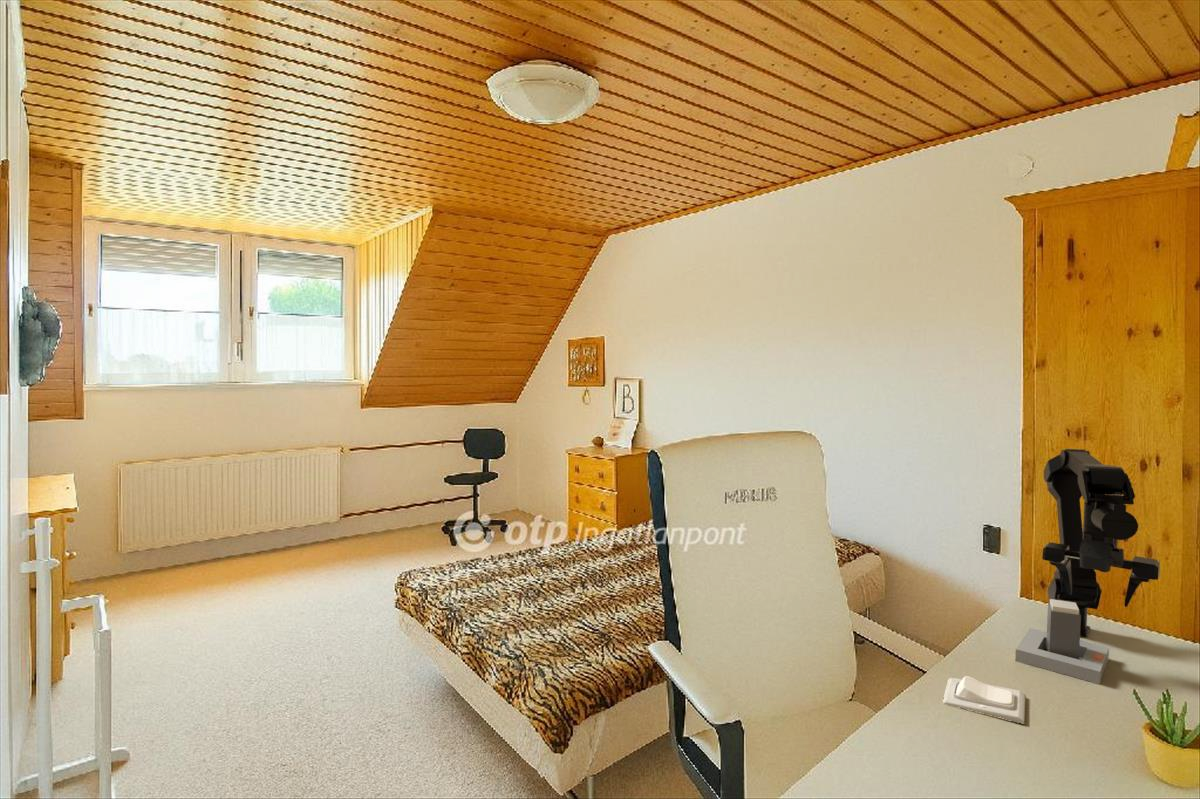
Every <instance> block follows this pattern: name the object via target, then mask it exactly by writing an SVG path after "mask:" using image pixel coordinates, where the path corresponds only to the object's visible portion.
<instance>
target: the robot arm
mask: <svg viewBox="0 0 1200 799" xmlns="http://www.w3.org/2000/svg"><path fill="white" fill-rule="evenodd" d="M1043 480H1044V482H1046V486H1047V487H1046V488H1047V489H1046V490H1047V491H1048V492H1049V493H1050V495H1051V496H1052V497H1053V499H1055V501H1056V511H1057V512H1056V513H1057V524H1058V535H1059V536H1058V537H1059V543H1057V542H1052V541H1051V542H1048V543H1047V544H1045V545H1044V547H1043V548H1042V556H1041V560H1043V561H1048V562H1049V565H1051V566H1054V567H1055V568H1056V569H1055V571H1054V573H1053V578H1052V579H1051V582H1050V583H1049V585H1048V588H1047V597H1048V600H1050V599H1054V600H1061V601H1068V602H1075V603H1076V605H1077V607H1078V609H1079V613H1080V615H1081V627H1080V637H1082V638H1083V637H1084V638H1087V637H1088V634H1089V632H1090V630H1091V626H1089V625H1087V624H1088V609H1094V610H1098V607H1099V605H1100V600H1101V596H1102V591H1103V590H1102V589H1101V586H1100V584H1099V582H1097V581H1098V580H1097V572H1096V571H1099V572H1101V573H1109V572H1110V571H1111V568H1112V567H1113V568H1119V569H1125V570H1130V571H1131V573H1130V575H1129V579H1128V583H1127V588H1126V593H1125V598H1124V607H1125V608H1128V606H1129V604H1130V601H1131V599H1132V598H1133V596H1134V594H1135V592H1136V590H1137V589H1138V587H1139V586H1140V585H1141V584H1142V583H1149V582H1150V580H1154V581H1156V580H1157V581H1158V580H1159V578H1160V577H1159V576H1160V574H1161V573H1160V571H1161V563H1160V561H1159V560H1157V559H1156V558H1150V557H1143V556H1137V555H1134V557H1133V560H1131V559H1125V550H1124V549H1123V548H1118V546H1119V541H1123V540H1124V541H1125V540H1128V539H1131V538H1133V537H1134V536H1135V535H1136V534H1137V532H1138V529H1139V523H1138V521H1137V518H1136V517H1135V516H1134V515H1133V514H1131V513H1130V512H1129V511H1127V505H1131V506H1132V505H1134V504H1135V502H1134V501H1135V500H1134V499H1135V497H1136V495H1135V492H1134V488H1133V485H1132V482H1131V479H1130V478H1129V475H1128V473H1127V472H1125V470H1124V469H1123V468H1122V467H1121V466H1117V465H1109V464H1103V463H1102V462H1100V461H1099V460H1098V459H1096V458H1095V457H1094V456H1093V455H1091V453H1090V451H1089V450H1086V449H1078V448H1065V449H1061V451H1060V453H1059V454H1058V455H1056V456H1054V457H1052V458H1050V459H1048V460H1047V461H1046V464H1045V467H1044V469H1043ZM1081 498H1082V499H1083V501H1084V502H1083V503H1084V504H1083V517H1082V509H1081ZM1082 518H1083V521H1082Z"/></svg>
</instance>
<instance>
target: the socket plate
mask: <svg viewBox="0 0 1200 799" xmlns="http://www.w3.org/2000/svg"><path fill="white" fill-rule="evenodd" d="M1046 641H1047V631H1044V630H1040V629H1036V628H1032V627H1029V628H1028V630H1027V631H1026V632H1025V635H1024V636H1023V638H1022V639H1021V641H1020V642H1019V643H1018V645H1017V647H1016V648H1015V659H1014V660H1015V662H1019V663H1022V664H1026V665H1030V666H1033V667H1037V668H1040V669H1045V670H1047V671H1050V672H1051V671H1052V672H1053V673H1054V672H1055V673H1057V674H1058V673H1059V674H1062V675H1065V676H1068V677H1072V678H1077V679H1079V680H1084V681H1086V682H1091V683H1095V684H1098V685H1101V681H1102V678H1103V677H1104V676H1103V675H1104V673H1105V670H1106V667H1107V664H1108V661H1109V656H1110V647H1109V646H1106V645H1105V646H1104V645H1101V644H1097V643H1092V642H1088V641H1084V640H1081V639H1080V650H1079V660H1078V659H1075V658H1071V657H1067V656H1063V655H1059V654H1056V653H1052V652H1048V651H1046V650H1044V649H1046ZM1081 659H1082V660H1081Z"/></svg>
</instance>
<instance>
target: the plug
mask: <svg viewBox="0 0 1200 799" xmlns="http://www.w3.org/2000/svg"><path fill="white" fill-rule="evenodd" d="M1046 617H1047V618H1046V619H1047V620H1046V632H1047V641H1046V648H1045V651H1048V652H1052V653H1056V654H1059V655H1063V656H1067V657H1071V658H1075V659H1078V660H1080V657H1079V650H1080V640H1081V636H1080V627H1081V615H1080V613H1079V609H1078V607H1077V605H1076V603H1075V602H1068V601H1061V600H1054V599H1049V602H1047V616H1046Z"/></svg>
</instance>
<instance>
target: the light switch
mask: <svg viewBox="0 0 1200 799" xmlns="http://www.w3.org/2000/svg"><path fill="white" fill-rule="evenodd" d="M943 697H944V699H943V698H942V701H943V703H944V704H943V703H942V704H943V705H946V704H948V705H947V706H950V705H953V706H956V707H955V708H957V707H960V708H959V709H961V708H964V709H963V710H965V709H969V710H973V711H977V712H981V713H984V714H988V715H992V716H996V717H1001V718H1004V719H1007V720H1011V721H1014V722H1013V723H1015V722H1017V723H1016V724H1019V723H1021V724H1020V725H1025V722H1024V721H1025V717H1026V716H1025V715H1026V713H1025V712H1026V694H1025V693H1024V692H1023V691H1021V690H1018V689H1014V688H1009V687H1003V686H997V685H993V684H987V683H983V682H981V681H979V680H977V679H975V678H973V677H971V676H968V675H965V676H963V678H962V679H961V678H956V677H955V678H954V677H950V678H948V680H947V683H946V687H945V691H944V695H943ZM953 706H952V707H953Z"/></svg>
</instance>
